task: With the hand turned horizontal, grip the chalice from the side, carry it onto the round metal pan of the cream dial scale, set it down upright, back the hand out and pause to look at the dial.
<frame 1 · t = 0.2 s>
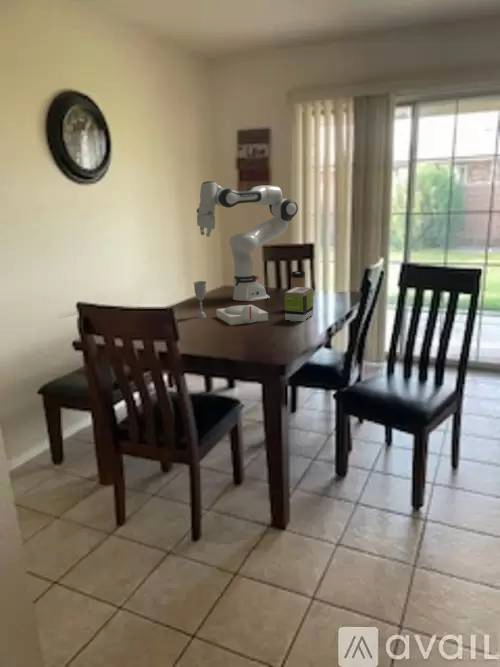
hand: (205, 235, 285), 39 cm above the table, tool pointing down, fingers open, 8 cm apart
tea box: (299, 318, 252), on the table
travel mug: (297, 309, 273), on the table
dial scale: (241, 318, 254), on the table
chalice: (201, 316, 260), on the table
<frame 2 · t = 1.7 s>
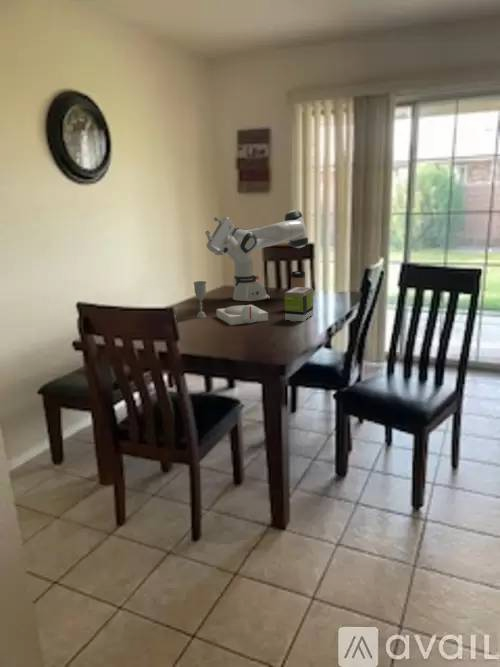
hand: (210, 224, 259), 46 cm above the table, tool pointing upward, fingers open, 8 cm apart
nothing on the table moved.
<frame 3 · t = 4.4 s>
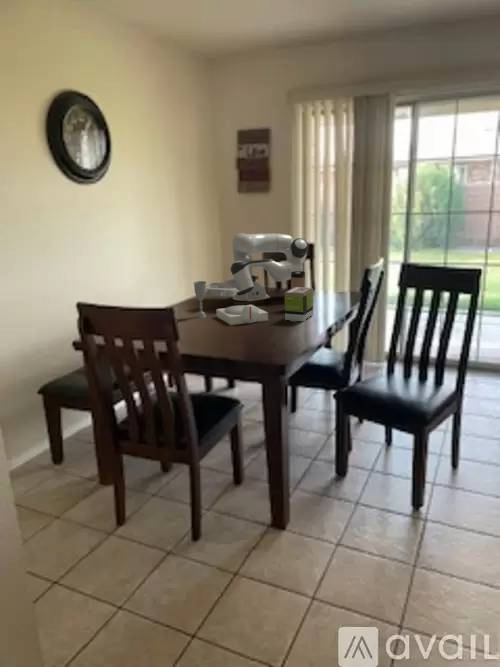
hand: (212, 294, 267), 10 cm above the table, tool horizontal, fingers open, 8 cm apart
nothing on the table moved.
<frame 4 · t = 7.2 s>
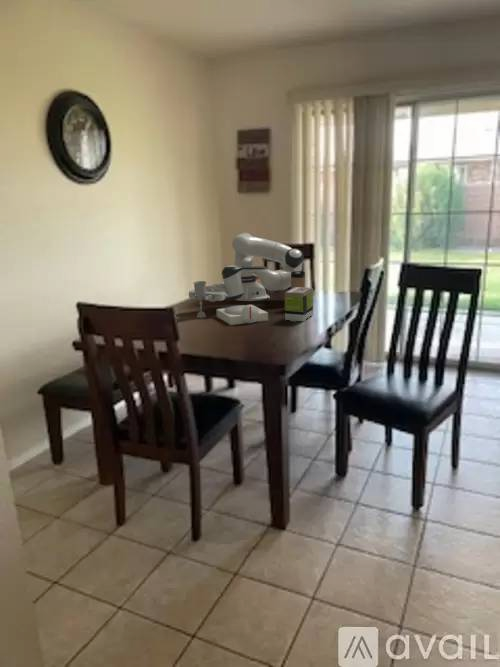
hand: (199, 298, 256), 10 cm above the table, tool horizontal, fingers closed on chalice, 5 cm apart
chalice: (201, 316, 260), on the table, touching gripper
everything else where it was.
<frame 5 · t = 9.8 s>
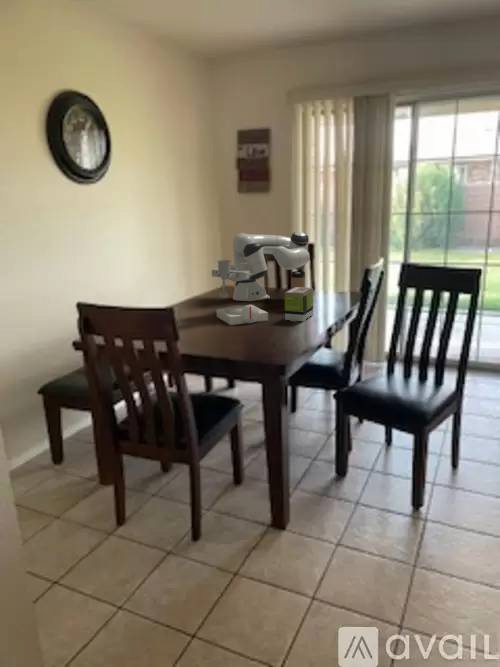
hand: (223, 275, 248), 22 cm above the table, tool horizontal, fingers closed on chalice, 5 cm apart
chalice: (223, 296, 251), point 11 cm above the table, touching gripper
everything else where it was.
when the fingers open (16 cm above the table, at t = 12.2 s): chalice stays where it is, resting on dial scale.
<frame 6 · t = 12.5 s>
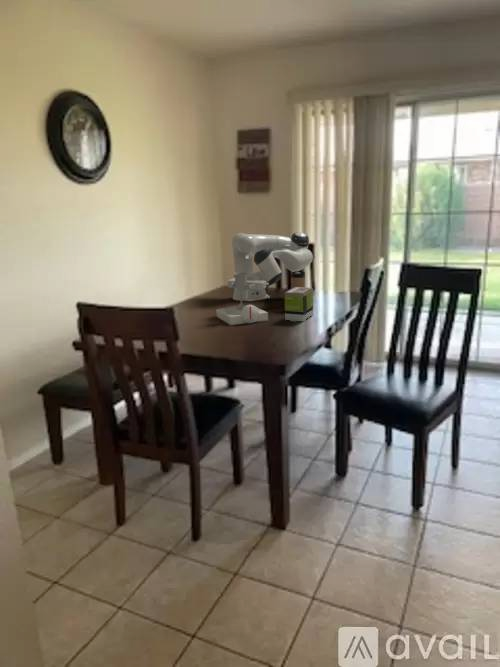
hand: (240, 286, 249), 16 cm above the table, tool horizontal, fingers open, 8 cm apart
chalice: (241, 309, 252), point 5 cm above the table, touching dial scale
everything else where it was.
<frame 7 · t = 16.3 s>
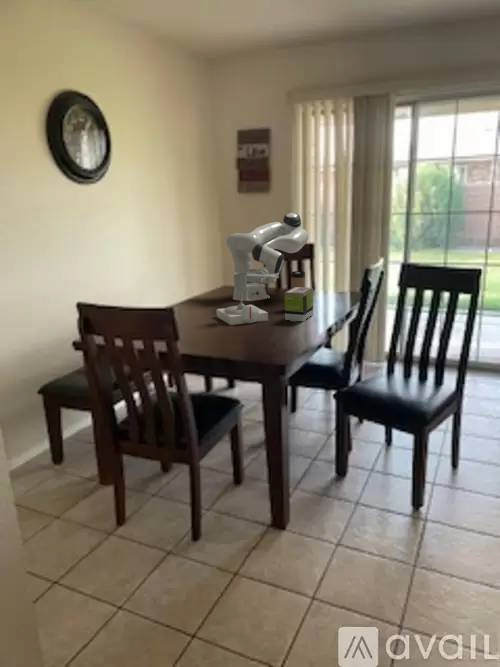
hand: (251, 280, 259), 18 cm above the table, tool horizontal, fingers open, 8 cm apart
nothing on the table moved.
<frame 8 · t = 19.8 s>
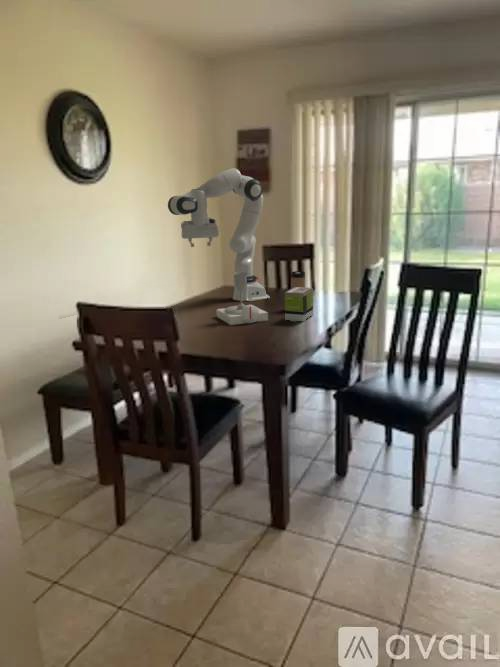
hand: (200, 246, 272), 34 cm above the table, tool pointing down, fingers open, 8 cm apart
nothing on the table moved.
at the end: chalice inside the target area on the dial scale (0.1 cm from its centre), point 4.8 cm above the dial scale's base; chalice tilted 0°; the gripper is holding nothing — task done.
